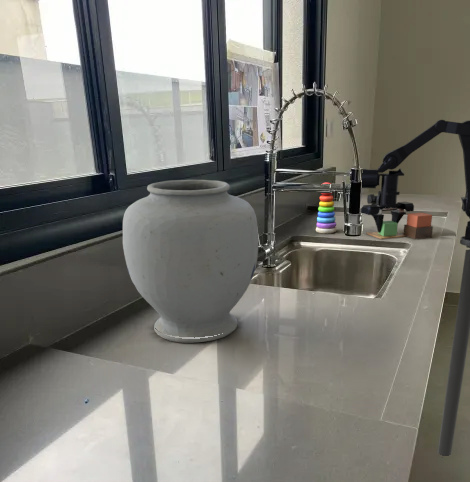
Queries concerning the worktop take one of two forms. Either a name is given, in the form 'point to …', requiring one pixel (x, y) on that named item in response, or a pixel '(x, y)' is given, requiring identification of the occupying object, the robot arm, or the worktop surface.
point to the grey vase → (191, 255)
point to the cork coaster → (384, 236)
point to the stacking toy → (326, 214)
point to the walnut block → (418, 232)
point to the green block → (389, 228)
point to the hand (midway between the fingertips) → (385, 231)
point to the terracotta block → (419, 219)
